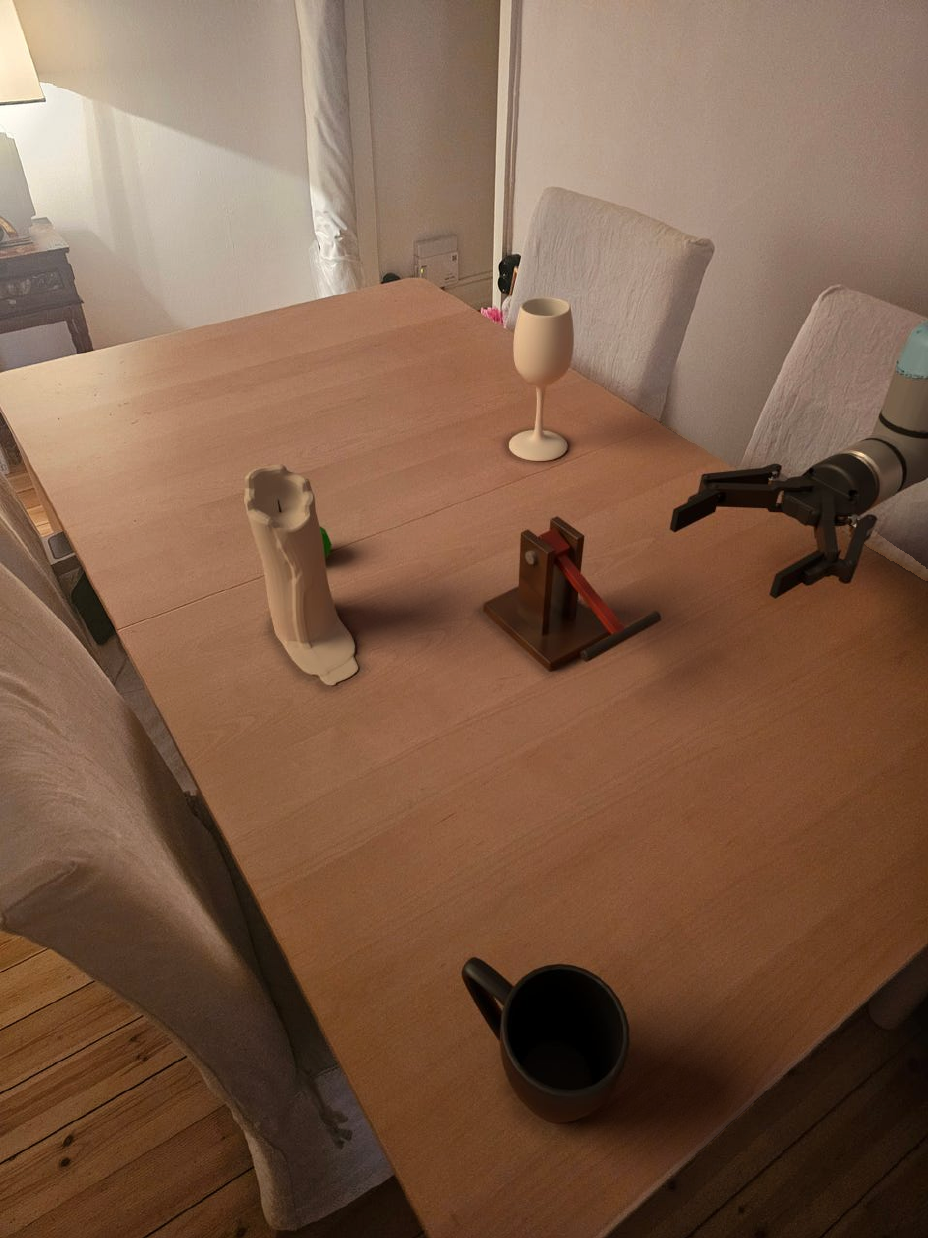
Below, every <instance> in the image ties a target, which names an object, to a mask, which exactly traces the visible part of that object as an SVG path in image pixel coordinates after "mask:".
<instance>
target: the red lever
mask: <svg viewBox="0 0 928 1238" xmlns="http://www.w3.org/2000/svg"><path fill="white" fill-rule="evenodd" d="M538 537H539V538H540V539H541V540H543V541H544V542H545V543H547V544H548V545H549V546H551V547H552V548H553V549H555V557H554V565H555V564H556V565H557V566H558V567H559V569H560V570H561V571H562V573H563V574H564V575H565V576H566V578H567V579H568V580H569V581H570V583H571V584H572V585H573V586H574V588H575V589H576V590H577V591H578V595H580V597H581V598H582V599H583V601H584V602H585V603H586V604H587V606H588V607H589V608H590V609H591V610H592V613H593V614H594V615H595V616H596V617H598V618H599V619H600V621H601V622H602V623H603V624H604V626H605V627H606V628H607V629H608V631H609V632H610V633H611V635H610V636H608V637H606V638H604V639H603V640H601V641H599V642H597V643H595V644H594V645H592V646H590V647H588V648H586V649H585V650H583V651H581V654H580V657H581V659H582V660H583V662H585V663H588V662H590V661H593V660H594V659H596V658H598V657H600V656H601V655H603V654H604V653H606V652H607V651H610V650H612V649H613V648H615V647H617V646H618V645H621V644H622V643H624V642H627V640H629V639H631V638H633V637H634V636H636V635H638V634H640V633H642V632H643V631H645V630H648V629H649V628H651V627H653V626H654V625H656V624H657V623H659V622H661V621H662V615H661V613H660V612H659V611H657V610H653V611H651V612H650V613H648V614H646V615H645V616H642V617H640V618H638V619H637V620H635V621H633V622H631V623H629V624H628V625H626V626H624V625H623V624H622V623H621V621H620V620H619V619H618V617H617V616H616V615H615V613H613V611H612V610H611V609H610V608H609V606H608V605H607V604H606V603H605V601H604V599H602V597H601V596H600V595H599V594H598V593H597V591H596V589H594V587H592V585H591V584H590V583H589V582H588V580H587V579H586V577H585V576H584V575H583V574H582V572H581V573H580V572H579V570H578V569H577V568H576V567H575V565H574V564H573V563H572V562H571V560H570V559H569V558H568V557H567V553H568V551H569V549H570V546H569V545H568V544H567V542H566V541H565V540H564V539H563V537H562V536H561V535H560V534H559V532H558V531H557V530H556V529H555V528H554V529H552V530H550V529H549V530H548V531H545V532H543V533H541V534H538Z"/></svg>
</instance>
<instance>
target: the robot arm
mask: <svg viewBox="0 0 928 1238" xmlns="http://www.w3.org/2000/svg"><path fill="white" fill-rule="evenodd" d="M782 468H783V465H781V464H780V463H771V464H769V465H766V466H764V467H757V468H756V467H755V468H746V469H738V470H727V471H716V472H707V473H702V474H701V476H700V479H699V484H698V485H699V486H698V490H697V493H694V494H692V495H690V496H689V497H688V498H687V501H686V502H685V503H683V504H681V505H679V506H677V507H675V508H673V509H672V515H671V519H670V524H669V530H670V531H671V532H673V533H677V532H679V531H680V530H682V529H684V528H686V527H687V528H688V526H690V525H693V524H694V523H696V522H698V521H700V520H702V519H704V518H706V517H708V516H710V515H713V514H714V513H716V510H717V508H718V507H720V508H743V509H744V508H746V509H766V510H767V512H769V513H778V514H779V513H781V514H782V513H783V514H784V515H786V516H787V517H790V518H793V519H795V520H796V521H797V522H798V523H800V524H802V525H803V526H805V527H807V526H809V527H813V537H814V539H815V540H816V550H815V551H813V552H811V553H809V554H807V555H806V556H804V557H802V558H801V559H799V560H797V561H796V562H793V563H792V564H790V565H789V566H786V568H783V569H782V570H780V571H778V572H777V573H775V575H774V578H773V580H772V585H771V588H770V590H769V594H768V595H769V596H770V597H771V598H773V599H777V598H779V597H781V596H783V595H784V594H786V593H788V592H789V591H791V590H792V589H794V588H796V587H797V586H799V585H801V584H803V585H804V586H806V587H809V586H812V585H814V584H815V583H817V582H819V581H821V580H822V579H824V578H830V577H831V576H833V577H837V578H838V581H839V583H842V584H846V585H848V584H851V583H852V580H853V578H854V575H855V573H856V570H857V568H858V565H859V562H860V558H861V555H862V552H863V548H864V544H865V543H866V542H867V541H868V540H869V539H870V538H871V536H872V534H873V531H874V529H875V527H876V523H877V521H878V517H877V516H876V515H874V514H871V513H869V514H865V513H867V512H868V511H870V510H871V509H874V508H875V507H877V506H878V505H880V504H882V503H884V502H886V501H888V500H889V499H891V498H892V497H894V496H897V494H898V493H899V494H900V493H901V492H902V491H905V490H906V489H908V488H910V487H912V486H914V485H916V484H919V483H922V482H924V481H926V480H927V479H928V320H925V321H923V322H920V323H919V324H918V325H916V326H914V328H913V329H912V330H911V332H910V333H909V335H908V338H907V340H906V341H905V343H904V345H903V348H902V351H901V352H900V355H899V357H898V359H897V361H896V363H895V368H894V371H893V374H892V377H891V380H890V382H889V386H888V389H887V392H886V394H885V398H884V401H883V404H882V406H881V409H880V412H879V414H878V416H877V418H876V421H875V424H874V426H873V429H872V432H871V433H870V435H869V436H868V437H866V438H864V439H862V440H860V441H858V442H856V443H854V444H852V445H849V446H848V447H845V448H844V449H842V450H839V451H838V452H836V453H834V454H833V455H830V456H828V457H827V458H824V459H822V460H821V461H819V462H817V463H814V464H813V465H811V466H810V467H809V468H808V469H807V470H806V471H804V473H802V474H801V475H798V476H791V477H789V476H787V475H785V474H784V473H782ZM780 493H781V499H780V502H778V500H779V496H780ZM864 514H865V515H864ZM862 515H864V516H863V517H862ZM846 526H848V532H850V534H849V537H850V541H849V542H848V546H847V548H846V549H847V550H846V552H845V556H844V558H841V557H840V554H841V552H842V549H839V546H838V538H837V530H836V527H846Z"/></svg>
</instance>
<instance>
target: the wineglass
mask: <svg viewBox="0 0 928 1238" xmlns="http://www.w3.org/2000/svg"><path fill="white" fill-rule="evenodd" d="M573 321H574V320H573V313H572V307H571V305H570V304H569V302H567V301H565V300H563V299H560V298H557V297H549V296H539V297H533V298H529V299H527V300H525V301H523V302H522V303H521V304H520V306H519V310H518V314H517V318H516V322H515V327H514V334H513V346H512V347H513V361H514V365H515V369H516V370H517V372H518V374H519V375H520V376H521V377H522V378H523V379H524V380H525V381H526V382H528V383H529V384H530V385H532V386H534V387H535V389H536V417H535V423H534V424H535V425H534V429H530V430H524V431H521V432H519V433H517V434H515V435H514V436H512V438H511V439H510V440H509V442H508V448H509V450H510V452H511V453H512V454H513V455H514V456H516V457H519V458H520V459H523V460H526V461H531V462H546V461H552V460H555V459H558V458H560V457H561V456H563V455H564V454H565V453H566V451H568V443H567V441H566V439H565V438H564V437H563V436H561V435H560V434H558V433H555V432H553V431H550V430H546V429H545V430H544V406H545V405H544V402H545V396H546V390H547V388H548V387H549V386H551V385H553V384H555V383H557V382H558V381H560V380H561V379H562V378H563V377H564V376H565V375H566V373H567V372H568V371H569V368H570V366H571V364H572V360H573V353H574V345H575V343H574V342H575V334H574V333H575V331H574V322H573Z"/></svg>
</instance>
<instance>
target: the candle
mask: <svg viewBox="0 0 928 1238" xmlns="http://www.w3.org/2000/svg"><path fill="white" fill-rule="evenodd" d="M243 503H244V506H245V510H246V514H247V517H248V520H249V521H248V522H249V525H250V528H251V531H252V534H253V537H254V540H255V543H256V546H257V549H258V553H259V556H260V561H261V565H262V569H263V574H264V581H265V589H266V596H267V602H268V603H267V604H268V608H269V612H270V617H271V621H272V625H273V629H274V634H275V636H276V638H277V639H278V640H279V641H280V642H281V644H282V646H283V648H284V649H285V650H286V652H287V654H288V655H289V657H290V659H291V660H292V661H293V662H294V663H295V665H297V666H298V668H299V669H301V671H303V673H306V674H308V675H311V676H318V677H319V679H320V680H321V682H322V683H324V684H325V685H328V686H336V684H337V683H339V682H342V681H344V680H346V679H348V678H350V677H352V676H353V675H354V674H355V673H357V672H358V670H359V666H358V663H357V661H356V659H355V653H356V644H355V642H354V638H353V636H352V634H351V633H350V631H349V630H348V629H347V627H346V626H345V625H344V623H343V622H342V620H341V619H340V617H339V616H338V612H337V610H336V606H335V604H334V599H333V595H332V593H331V590H330V584H329V579H328V573H327V565H326V558H325V556H324V547H323V539H322V534H321V530H320V526H321V525H320V522H319V518H318V514H317V508H316V507H317V506H316V497H315V494H314V491H313V489H312V485H311V482H310V479H309V478H308V477H307V476H305V475H304V474H300V473H297V472H293V471H289V469H287V467H286V466H285V465H284V464H281V463H280V464H273V465H267V466H263V467H259V468H255V469H252V470H250V471H249V472H248V473H247V474H246V475H245V480H244V497H243Z"/></svg>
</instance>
